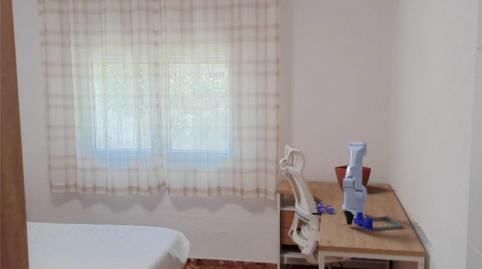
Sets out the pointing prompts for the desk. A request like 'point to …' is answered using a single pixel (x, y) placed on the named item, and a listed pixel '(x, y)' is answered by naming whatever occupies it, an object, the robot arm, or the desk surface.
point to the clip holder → (397, 226)
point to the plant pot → (342, 173)
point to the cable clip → (363, 221)
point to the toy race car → (324, 208)
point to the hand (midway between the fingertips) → (349, 224)
